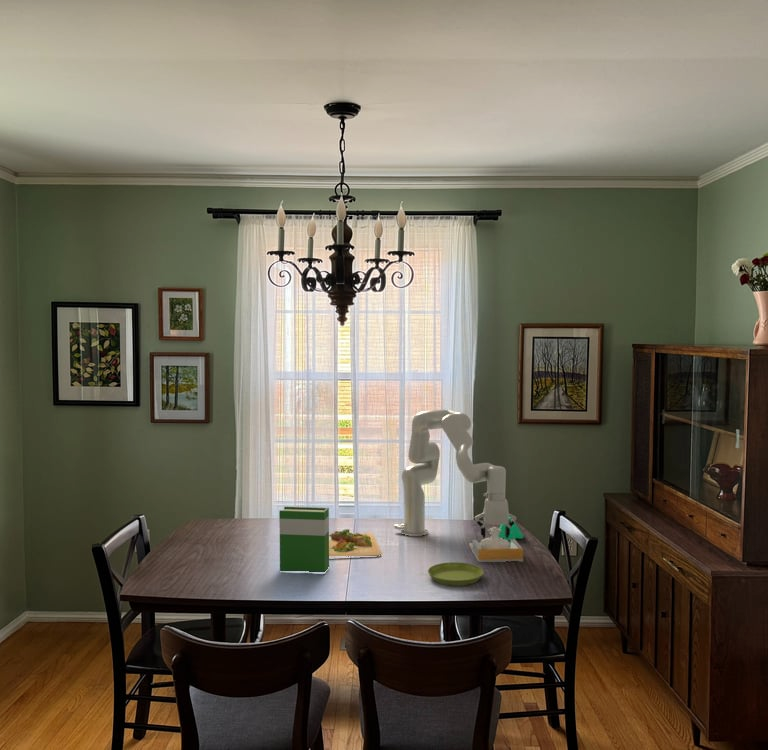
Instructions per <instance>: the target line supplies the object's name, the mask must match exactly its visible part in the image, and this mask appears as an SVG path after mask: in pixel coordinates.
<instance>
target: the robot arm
mask: <svg viewBox="0 0 768 750" xmlns="http://www.w3.org/2000/svg"><path fill="white" fill-rule="evenodd" d="M471 425H472V422H471V419H470V417H469V416H468V415H467V414H466V413H464V412H458V411H454V410H451V409H450V410H449V409H436V410H435V409H434V410H425V411H420V412H418V413H415V415H414V416H413V417H412V422H411V433H410V434H411V435H410V442H409V446H408V447H409V448H408V453H407V454H408V460H409V462H411V463H412V464H413V465H409V466H407V467H405V468H404V469H403V471H402V473H401V480H402V485H403V500H404V501H403V502H404V503H403V505H404V507H403V509H404V510H403V511H404V512H403V513H404V515H403V519H404V521H403V522H402V523H401V524H394V525H393V526H394V530H397V531H398V530H400V533H403V534H405V535H404V536H406V535H410V536H409V537H423V536H422V535H424V536H426V534H427V535H428V534H429V530H428V529H427V528H426V527H425V522H426V519H425V517H426V515H425V512H426V511H425V507H426V506H425V502H426V501H425V498H426V497H425V492H424V490H423V488H422V486H423V485H428V484H431V483H433V482H434V481H435V480H436V478H437V474H438V469H439V462H440V458H441V457H440V455H441V453H440V452H441V451H440V448H439V445H438V444H437V443H436V442H435V441H430V438H431V437H430V436H431V435H430V431H429V430H437V429H438V430H439V429H442V430H443V432H444V434H445V435H446V436H447V439H448V440H449V441H450V442H451V445H452V446H453V447H454V449H455V461H456V465H457V468H458V470H459V471H460V473H461V474H462V476H463V477H464V479H465V480H466V481H467V482H469V483H471V484H478V483H482V482H486V492H484V493H483V497H485V500H484V503H483V504H484V505H483V512H482V513H479V514H477V515H475V516H474V520H475V521H476V523H477V525H478V526H479V527H480V536H482V538H483V539H485V538H486V526H487V525H494V526H495V525H497V526H499V525H500V526H501V525H503V524H505V525H506V527H505V536H506V538H508V535H510V528H511V526H512V525H513V524H514V522H515V523H516V520H517V517H516V516H515V515H513V514H512V513H509V503H508V499H506V483H507V481H506V479H507V477H506V476H507V472H506V471H507V470H506V468H505V467H504V466H500V465H494V464H492V463H490V462H482V463H475V464H474V463H473V462H472V460H471V459H470V457H469V456H470V455H469V453H468V450H469V449H470V448H471V447H472V446H473V444H474V440H473V437H472V436H471V435H470V433H469V432H468V431H469V430H470V428H471V427H472V426H471ZM509 517H510V518H512V520H509ZM481 518H482V520H483V521H482V522H481V521H480V519H481ZM509 521H510V522H509ZM403 534H402V535H403Z"/></svg>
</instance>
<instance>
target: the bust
mask: <svg viewBox="0 0 768 750" xmlns="http://www.w3.org/2000/svg"><path fill="white" fill-rule="evenodd" d="M487 531H488V532H489V535H491V536H490V537H485V538H483V539H481V541H480V542H479V543H481V547H482V549H509V542H510V540H505V539H503V538H499V537H498V534H499V532H501V531H502V529H499V528H498V527H497V526H496V527H495V526H492V527H490V528H488V529H487Z"/></svg>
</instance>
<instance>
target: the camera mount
mask: <svg viewBox="0 0 768 750" xmlns="http://www.w3.org/2000/svg"><path fill="white" fill-rule="evenodd" d="M511 520H512V518H510V517H509V521H511ZM505 527H506V525H505V524H503V525H500V526H499V528H498V529H502V531H501V532H499V534H498V537H499V538H504V539H505V540H508V541H511V539H515V540H516V539H524V534H523V533H522V531H521V529H520V528H519V526H518V525H517V522H516V521H515V522H514V524H513V525H512V526H511V528H510V535H508V538H506V536H505Z"/></svg>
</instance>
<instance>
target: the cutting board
mask: <svg viewBox="0 0 768 750" xmlns="http://www.w3.org/2000/svg"><path fill="white" fill-rule="evenodd" d="M350 531H351V529H350V528H348V529H346V528H345V529H343V530H342V531H339V530H336V531H335V532H334V533H333V532H331V534H330V533H329V534H330V535H329V536H330V537H331V540H329V556H348V557H349V556H379V555H381V554H382V555H383V552H382V551H381V549H380V547H379V544H378V542H377V539H376V537H375V535H374V533H372V532H356V533H353V532H350ZM373 535H374V536H373Z"/></svg>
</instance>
